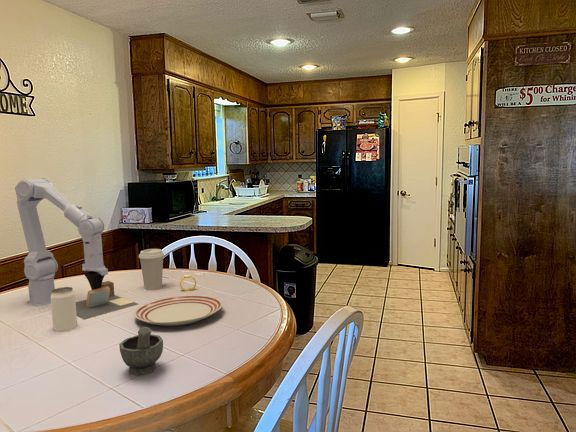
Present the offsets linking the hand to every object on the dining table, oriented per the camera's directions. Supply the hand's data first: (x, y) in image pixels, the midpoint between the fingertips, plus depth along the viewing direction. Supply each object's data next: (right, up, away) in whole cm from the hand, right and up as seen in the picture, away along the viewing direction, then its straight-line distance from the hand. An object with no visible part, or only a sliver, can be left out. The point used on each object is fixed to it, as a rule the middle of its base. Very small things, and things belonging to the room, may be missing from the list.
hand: (96, 292), depth 152 cm
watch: (+28, -2, +18) cm, 33 cm away
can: (-1, -8, -20) cm, 21 cm away
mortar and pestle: (+32, -11, -48) cm, 58 cm away
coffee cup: (+13, -2, +21) cm, 25 cm away
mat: (+1, -5, 0) cm, 5 cm away
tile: (0, -4, +1) cm, 4 cm away
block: (-1, -3, +11) cm, 11 cm away
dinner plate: (+31, -6, -10) cm, 33 cm away
